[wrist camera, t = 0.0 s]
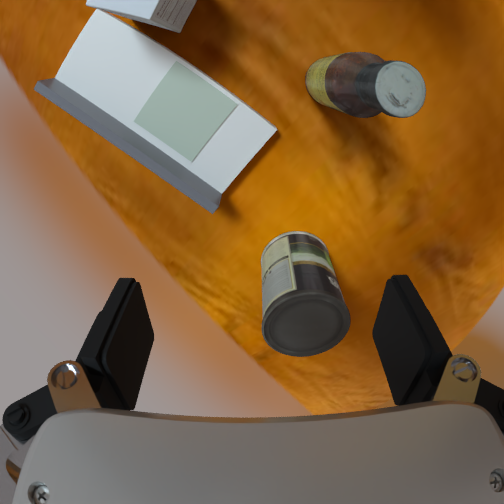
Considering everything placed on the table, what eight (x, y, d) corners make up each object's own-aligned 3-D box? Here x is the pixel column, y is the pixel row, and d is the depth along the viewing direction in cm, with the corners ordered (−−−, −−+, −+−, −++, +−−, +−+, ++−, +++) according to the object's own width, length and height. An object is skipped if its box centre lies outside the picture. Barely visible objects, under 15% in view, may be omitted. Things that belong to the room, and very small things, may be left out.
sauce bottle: (315, 112, 37) (367, 150, 20) (295, 66, 34) (334, 61, 17) (362, 95, 35) (446, 123, 18) (344, 50, 32) (421, 39, 15)
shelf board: (103, 10, 29) (96, 8, 27) (276, 127, 38) (277, 130, 36) (57, 85, 33) (49, 87, 32) (216, 195, 43) (215, 202, 41)
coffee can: (322, 222, 45) (345, 283, 33) (333, 279, 50) (354, 345, 38) (251, 240, 46) (250, 306, 34) (270, 294, 51) (274, 364, 39)
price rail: (54, 78, 31) (37, 80, 28) (221, 193, 40) (218, 206, 37) (50, 87, 32) (33, 90, 28) (215, 201, 41) (211, 215, 38)
